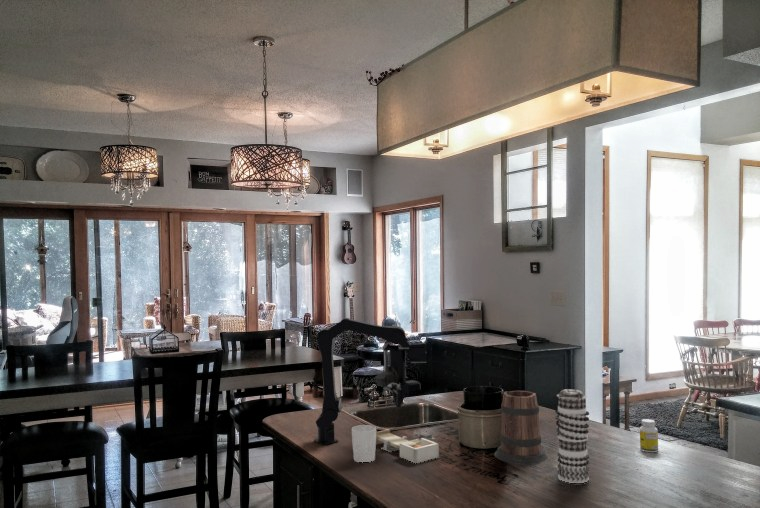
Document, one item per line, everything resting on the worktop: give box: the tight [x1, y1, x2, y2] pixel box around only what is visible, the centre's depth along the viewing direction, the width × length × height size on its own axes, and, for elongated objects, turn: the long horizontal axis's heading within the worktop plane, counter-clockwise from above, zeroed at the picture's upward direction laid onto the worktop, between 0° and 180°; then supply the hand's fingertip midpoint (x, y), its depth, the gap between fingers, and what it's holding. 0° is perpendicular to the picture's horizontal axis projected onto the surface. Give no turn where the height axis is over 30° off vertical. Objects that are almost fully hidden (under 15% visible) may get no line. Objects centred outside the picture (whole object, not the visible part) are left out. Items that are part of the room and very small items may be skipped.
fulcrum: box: [380, 435, 408, 453], centre depth 198 cm, size 5×9×3 cm, turn 125°
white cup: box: [351, 424, 377, 464], centre depth 187 cm, size 8×8×10 cm
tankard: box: [493, 390, 549, 465], centre depth 192 cm, size 24×17×20 cm
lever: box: [376, 428, 436, 449], centre depth 201 cm, size 16×15×2 cm
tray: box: [399, 438, 440, 465], centre depth 188 cm, size 8×10×4 cm
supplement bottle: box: [639, 418, 659, 453], centre depth 192 cm, size 5×5×10 cm
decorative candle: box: [554, 388, 590, 484], centre depth 168 cm, size 9×9×25 cm
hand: (398, 407), depth 205 cm, fingers closed
